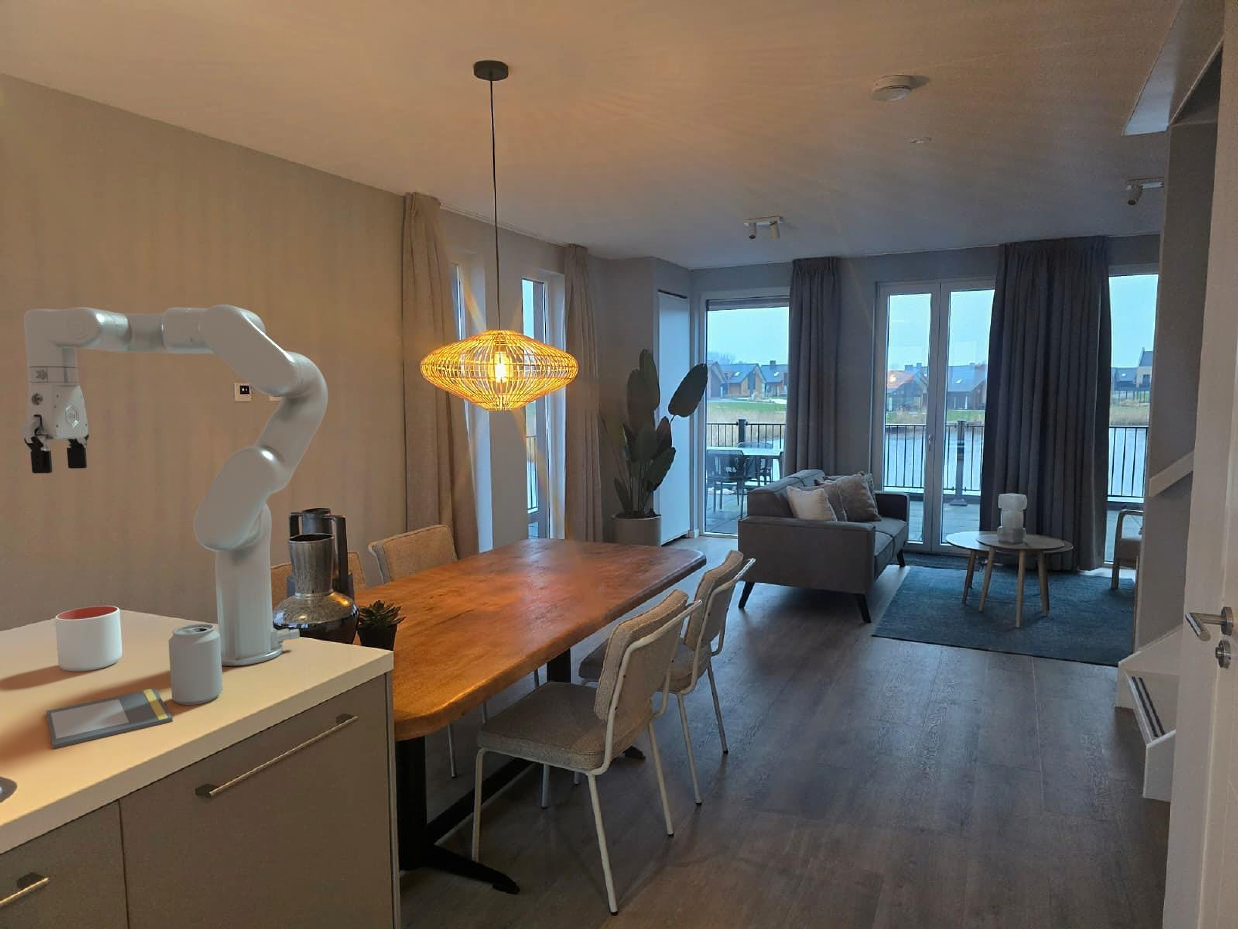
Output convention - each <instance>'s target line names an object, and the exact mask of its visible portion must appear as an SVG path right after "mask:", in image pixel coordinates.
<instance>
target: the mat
mask: <svg viewBox="0 0 1238 929" xmlns="http://www.w3.org/2000/svg"><path fill="white" fill-rule="evenodd" d="M45 712H46V718H47V724H48V729H49V734H50V738H51V739H50V740H51V744H52V749H59V748H63V747H67V746H71V745H76V744H80V743H85V742H88V741H93V740H97V739H101V738H106V737H110V736H115V735H119V734H123V733H127V732H131V731H135V730H137V731H138V730H140V729H145V728H149V727H153V726H157V725H162V724H166V723H170V722H173V721H174V720H173V716H172V715H171V713H170V711H169V710H168V707H167V706H166V704H165V702H164V701H163V699H162V697H161V695H160V694H159V692H158V691H157V689H156V688H147V689H142V690H140V691H135V692H131V693H130V692H129V693H125V694H120V695H116V696H112V697H111V696H110V697H106V698H102V699H97V700H91V701H87V702H81V703H77V704H73V705H72V704H71V705H67V706H64V707H63V706H62V707H58V708H53V709H48V710H45Z"/></svg>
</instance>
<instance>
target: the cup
mask: <svg viewBox="0 0 1238 929" xmlns="http://www.w3.org/2000/svg"><path fill="white" fill-rule="evenodd" d="M54 620H55V621H54V622H55V634H56V635H55V636H56V646H57V647H56V649H57V661H58V662H57V664H58V665H59V667H60V668H61V669H62V670H64V671H66V672H74V673H76V672H89V671H90V672H91V671H95V670H99V669H103V668H106V667H109V666H111V665H113V664H116V663H117V662H118V661H119V660H120V659H121V658H122V655H123V645H122V644H123V643H122V629H121V628H122V627H121V611H120V608H119V607H117V606H114V605H98V606H97V605H96V606H88V607H85V606H84V607H80V608H74V609H70V610H67V611H66V610H65V611H64V612H61V613H59V614H57V615H56V616H55V617H54Z"/></svg>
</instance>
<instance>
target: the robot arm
mask: <svg viewBox="0 0 1238 929" xmlns="http://www.w3.org/2000/svg"><path fill="white" fill-rule="evenodd" d="M23 326H24V341H25V354H26V362H27V363H26V364H27V365H26V367H27V378H28V379H27V380H28V393H27V422H25V423H24V424H23V425H22V426H20V432H21V435H22V436H23V441H24V443H25V444H26V446H27V450H28V451H29V452H30V462H31V463H30V464H31V472H32V474H51V473H53V465H52V464H53V462H52V452H51V450H49V448H50V445H51V443H52V441H53V439H54V440H64V441H65V442H66V443H67V445H68V447H66V456H67V458H66V459H67V468H68V469H87V467H88V464H87V449H86V447H88V440H89V437H90V435H89V433H90V429H91V424H90V423H89V422H88V417H87V410H86V404H85V398H84V395H83V390H82V388H81V386H80V383H79V369H78V367H79V366H78V354H77V349H83V350H84V349H85V350H92V351H93V350H94V351H101V352H102V351H104V352H109V353H110V352H111V353H167V354H170V355H175V354H177V355H178V354H180V355H184V354H185V355H216V356H217V357H218V358H219V359H220V360H222V361H223V362H224V363H225V364H226V365H227V366H228V367H229V368H231V369H232V370H233V371H234V372H236V374H237V375H239V376H240V377H241V378H242V379H243V381H245V382H246V383H248V384H249V385H250V386H252V387H253V388H254V389H255V390H257V391H258V392H260V393H262V394H264V395H267V396H270V397H274V398H276V397H277V398H278V397H280V401H279V403H278V405H277V407H276V408H275V410H274V411H273V412H272V413H271V415H270V416H269V418H268V419H267V421H266V423H265V425H264V427H263V429H262V430H261V432H260V434H259V436H258V437H257V439H256V440H255V442H254V443H253V444H252V445H251V446H246V447H243V448H240V449H238V450H237V451H235V452H233V453H232V454H231V455H230V456H229V457H228V458H227V459H226V460H225V461H224V463H223V464H222V466H221V467H220V469H219V471H218V473H217V474H216V475H215V478H214V479H213V481H212V483H211V485H210V487H209V488H208V490H207V492H206V493H205V496H204V497H203V499H202V501H201V502H200V504H199V506H198V508H197V510H196V513H195V515H194V518H193V522H192V529H193V534H194V537H195V538H196V541H197V542H198V543H199V544H200V545H201V546H202V548H203V547H204V549H207V550H209V551H212V552H215V562H214V563H215V564H214V565H215V566H214V567H215V568H214V569H215V571H214V572H215V589H216V590H215V592H216V595H215V596H216V608H217V609H216V610H217V626H218V627H217V629H218V631H217V632H218V633H219V634H220V647H221V666H224V667H225V666H226V667H229V666H230V667H231V666H232V667H235V666H246V665H252V664H253V665H254V664H258V663H263V662H265V661H270V660H272V659H274V658H277V657H278V656H280V655H281V654H282V653H283V651H284V648H283V644H282V643H283V642H284V641H291V640H297V639H300V635H301V634H300V630H299V628H294V629H289V628H283V629H279V630H278V629H276V628H275V627H274V622H273V620H274V619H273V618H274V616H273V600H272V597H273V596H272V578H271V577H272V576H271V574H272V573H271V540H272V538H271V536H272V528H273V527H272V525H273V522H272V520H273V519H272V513H271V510H270V507H269V505H268V504H267V501H268V500H269V498H270V496H271V495H273V494H276V493H278V492H280V491H282V490H283V489H284V488H286V487H287V485H288V484H289V483H290V482H291V480H292V478H293V475H294V473H295V472H296V469H297V468H298V466H299V464H300V462H301V460H302V459H303V457H304V455H305V453H306V452H307V451H308V448H309V447H310V446H309V445H310V444H311V441H312V440H313V438H314V436H315V434H316V432H317V431H318V430H319V427H320V426H321V423H322V422H323V419H324V417H325V414H326V411H327V407H328V403H329V401H328V400H329V391H328V385H327V381H326V380H325V378H324V376H323V373H322V372H321V370H320V369H319V367H318V366H317V365H316V364H315V362H313V361H312V360H311V359H309V358H308V357H306V356H305V355H303V354H301V353H298V352H294V351H288V350H284V349H282V348H281V347H280V346H279V345H277V343H275V342H274V341H273V340H272V339H270V338H269V337H268V336H267V335H266V333H267V332H266V327H265V325H264V322H263V321H262V319H261V317H259V316H258V315H257V314H256V313H254V312H252V311H251V310H248V309H244V308H241V307H238V306H235V305H231V304H217V305H213V306H211V307H209V308H205V307H201V308H200V307H177V306H175V307H168V308H167V309H166V310H165V311H163V312H159V313H130V312H129V313H124V312H113V311H110V310H104V309H99V308H94V307H87V306H78V307H71V308H70V307H69V308H64V309H63V308H62V309H54V308H53V309H52V308H51V309H50V308H34V309H33V308H32V309H29V310H27V311H26V312H25V313H24V315H23Z"/></svg>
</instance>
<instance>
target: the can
mask: <svg viewBox="0 0 1238 929" xmlns="http://www.w3.org/2000/svg"><path fill="white" fill-rule="evenodd" d="M215 628H216V626H215V624H212V623H193V624H187V625H183V626H180V627H177V628H174V629H173V631H172V634H173V635H172V636H171V637H170V638H169V639H168V655H169V672H170V688H171V698H172V700H173V701H175V702H177V704H179V705H184V706H194V705H195V706H196V705H200V704H204V703H208V702H211V701H213V700H215V699H216V698H217V697H218V696H219V695H220V694H221V693H222V692H223V689H224V687H223V671H222V670H223V669H222V668H223V667H222V666H223V665H221V647H220V634H219V632H218V631H217V630H216V629H215Z"/></svg>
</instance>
